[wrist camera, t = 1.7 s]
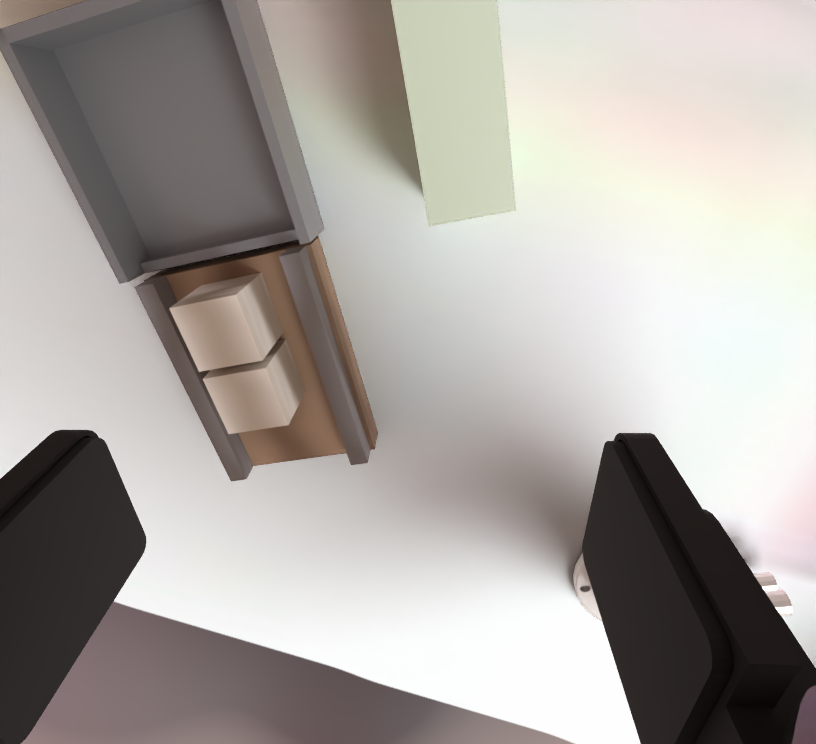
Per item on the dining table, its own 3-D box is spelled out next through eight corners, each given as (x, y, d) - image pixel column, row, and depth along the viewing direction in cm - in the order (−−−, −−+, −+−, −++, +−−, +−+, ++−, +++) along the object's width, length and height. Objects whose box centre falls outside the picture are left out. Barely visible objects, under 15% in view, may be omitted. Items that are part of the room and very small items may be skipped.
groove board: (318, 236, 30) (304, 251, 27) (377, 432, 37) (371, 462, 34) (160, 271, 32) (130, 288, 29) (244, 452, 39) (227, 481, 36)
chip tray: (249, -24, 24) (221, -44, 21) (324, 228, 30) (310, 242, 27) (44, 41, 26) (-9, 32, 23) (151, 266, 32) (119, 283, 29)
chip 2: (285, 339, 31) (265, 368, 28) (305, 391, 33) (288, 425, 30) (229, 349, 32) (202, 379, 29) (251, 400, 34) (228, 434, 30)
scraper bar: (471, -107, 22) (481, -190, 16) (500, 188, 28) (515, 210, 22) (386, -82, 23) (364, -153, 17) (432, 201, 29) (429, 226, 23)
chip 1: (261, 272, 29) (236, 294, 26) (283, 332, 31) (262, 360, 28) (201, 285, 30) (169, 308, 26) (226, 343, 32) (199, 371, 28)
